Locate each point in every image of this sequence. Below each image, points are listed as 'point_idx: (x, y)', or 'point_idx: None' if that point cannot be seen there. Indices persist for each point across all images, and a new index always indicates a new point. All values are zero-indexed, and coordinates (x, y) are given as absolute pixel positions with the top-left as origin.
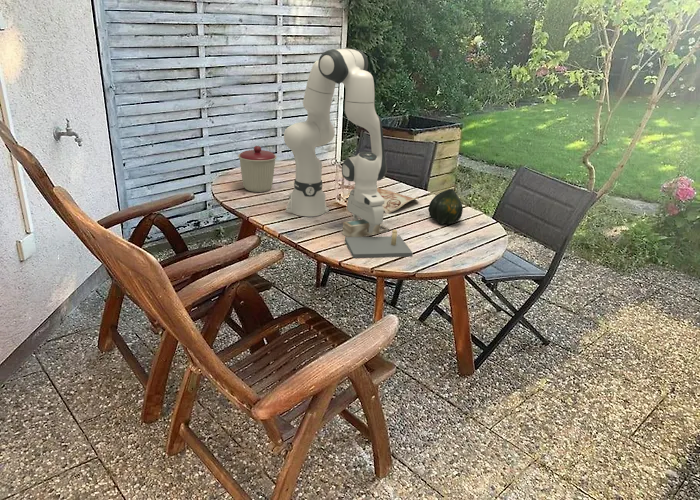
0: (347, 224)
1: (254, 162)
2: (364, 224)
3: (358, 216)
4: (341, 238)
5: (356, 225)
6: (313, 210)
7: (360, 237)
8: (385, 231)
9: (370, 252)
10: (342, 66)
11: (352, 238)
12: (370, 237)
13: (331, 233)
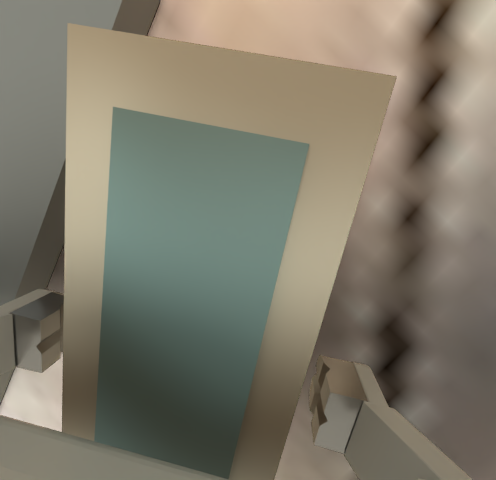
0: (214, 63)
1: None
2: (64, 343)
3: (190, 473)
4: (240, 19)
5: (77, 194)
6: None
7: (51, 152)
8: None
9: None
10: None
11: (63, 39)
12: (16, 245)
13: (447, 10)
